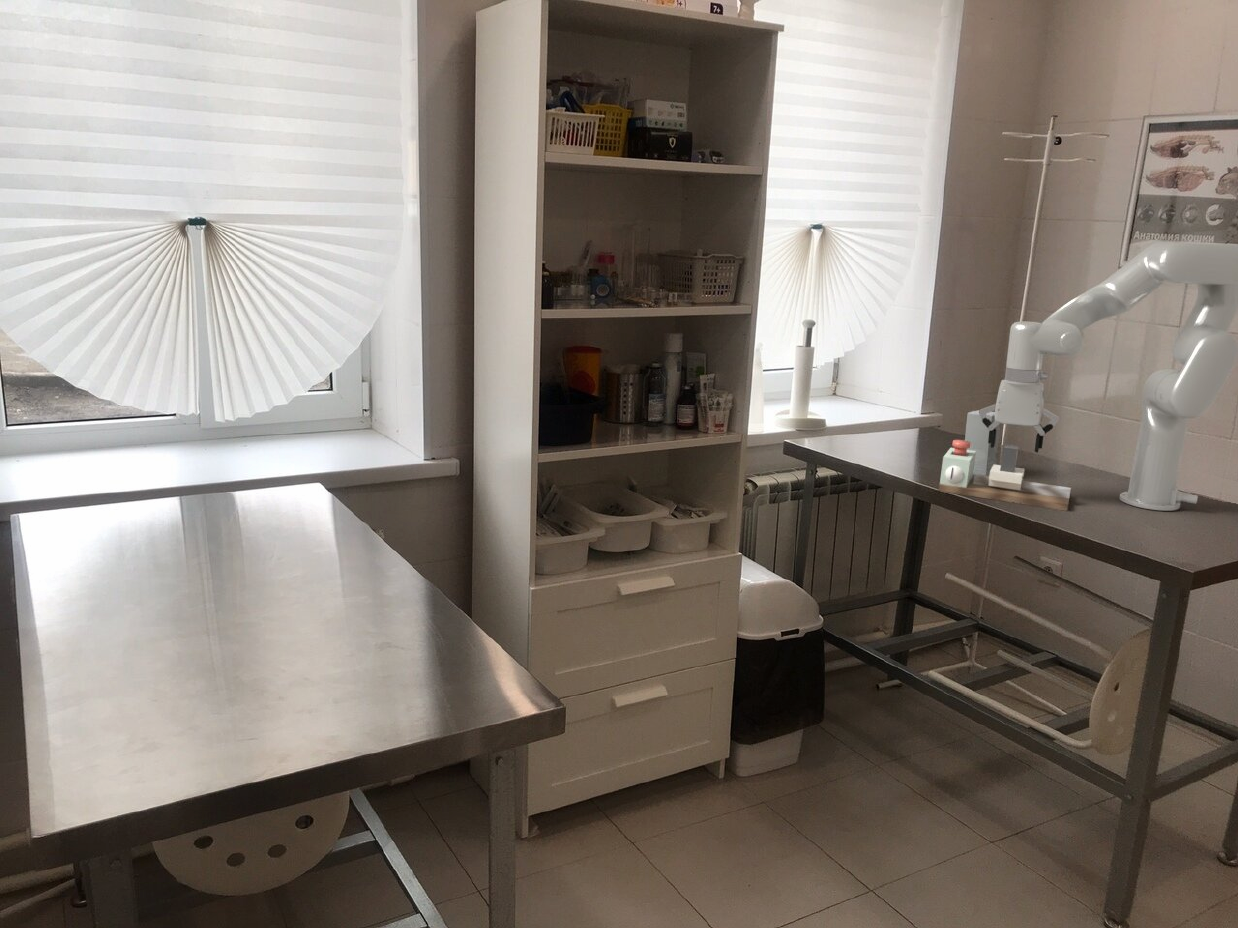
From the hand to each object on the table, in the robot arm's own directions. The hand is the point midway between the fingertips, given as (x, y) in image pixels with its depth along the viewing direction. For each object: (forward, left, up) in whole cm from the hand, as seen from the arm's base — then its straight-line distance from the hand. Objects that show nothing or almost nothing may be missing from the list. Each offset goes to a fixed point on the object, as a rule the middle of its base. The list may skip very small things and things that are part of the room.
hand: (1014, 448), depth 231 cm
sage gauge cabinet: (+12, +1, -9) cm, 15 cm away
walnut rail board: (+1, 0, -11) cm, 11 cm away
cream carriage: (+1, 0, -9) cm, 9 cm away
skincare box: (+9, -18, -11) cm, 23 cm away
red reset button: (+12, 0, -3) cm, 12 cm away
